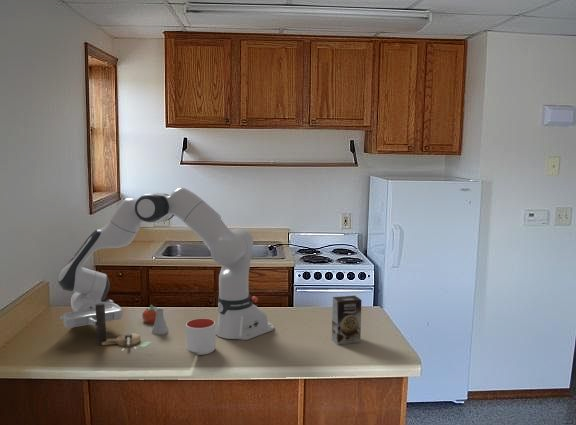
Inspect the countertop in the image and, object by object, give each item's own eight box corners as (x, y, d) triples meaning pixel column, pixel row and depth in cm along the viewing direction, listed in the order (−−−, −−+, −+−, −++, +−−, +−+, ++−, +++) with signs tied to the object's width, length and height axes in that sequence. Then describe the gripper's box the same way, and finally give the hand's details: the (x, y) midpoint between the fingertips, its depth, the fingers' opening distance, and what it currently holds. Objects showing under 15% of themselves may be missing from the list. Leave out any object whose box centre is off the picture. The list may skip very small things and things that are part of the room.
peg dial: (140, 336, 194) (138, 298, 192) (140, 349, 182) (138, 308, 180) (98, 340, 190) (96, 301, 188) (96, 353, 178) (93, 312, 176)
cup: (185, 346, 188) (184, 319, 187) (213, 343, 191) (212, 317, 190) (188, 358, 179) (187, 329, 177) (218, 354, 182) (217, 326, 180)
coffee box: (337, 345, 189) (338, 301, 187) (331, 338, 196) (331, 296, 193) (361, 342, 192) (362, 299, 190) (354, 336, 198) (355, 294, 196)
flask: (165, 339, 195) (164, 313, 193) (146, 338, 196) (145, 312, 195) (173, 332, 202) (172, 307, 200) (155, 331, 203) (154, 305, 202)
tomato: (159, 327, 207) (158, 307, 206) (140, 327, 207) (139, 307, 206) (163, 320, 214) (163, 301, 213) (145, 320, 214) (144, 301, 213)
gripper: (58, 307, 192) (66, 320, 180) (116, 299, 203) (126, 310, 191) (59, 324, 193) (66, 337, 181) (116, 314, 204) (126, 326, 192)
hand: (97, 323), depth 186 cm, fingers closed, pressing on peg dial
